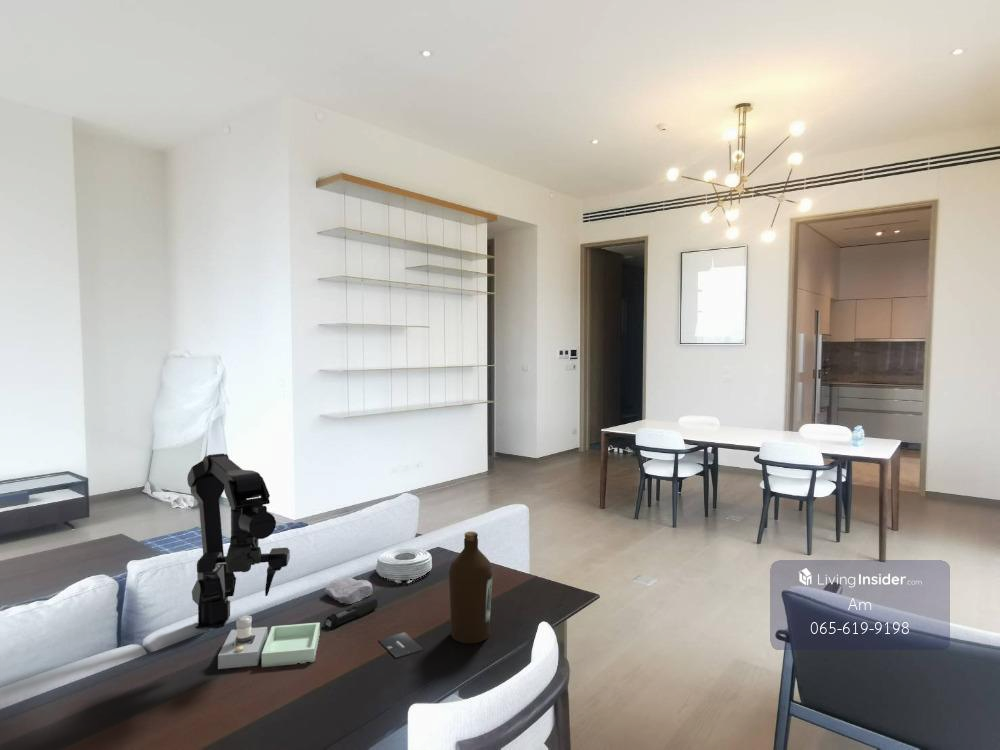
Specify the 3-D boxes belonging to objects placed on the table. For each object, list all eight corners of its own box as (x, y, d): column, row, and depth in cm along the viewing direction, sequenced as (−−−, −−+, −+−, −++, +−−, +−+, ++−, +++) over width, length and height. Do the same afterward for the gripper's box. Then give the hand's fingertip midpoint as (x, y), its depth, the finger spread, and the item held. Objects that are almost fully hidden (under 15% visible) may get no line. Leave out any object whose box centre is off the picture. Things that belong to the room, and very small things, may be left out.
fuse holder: (218, 669, 125) (218, 652, 125) (231, 642, 137) (231, 627, 137) (257, 665, 127) (257, 649, 127) (267, 639, 139) (267, 624, 138)
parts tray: (261, 667, 126) (261, 653, 126) (271, 638, 139) (271, 626, 139) (314, 662, 128) (314, 648, 128) (319, 634, 141) (319, 622, 141)
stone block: (350, 613, 157) (376, 594, 166) (347, 597, 157) (373, 578, 165) (321, 604, 164) (347, 586, 172) (317, 589, 163) (344, 571, 171)
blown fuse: (234, 657, 130) (234, 622, 130) (238, 650, 133) (238, 616, 133) (250, 656, 131) (250, 621, 130) (253, 649, 134) (252, 615, 134)
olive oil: (447, 645, 136) (448, 540, 136) (449, 624, 147) (450, 527, 146) (492, 645, 137) (493, 540, 136) (491, 624, 147) (492, 527, 147)
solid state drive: (395, 660, 130) (395, 657, 130) (378, 642, 138) (378, 639, 138) (423, 652, 134) (423, 649, 134) (404, 634, 142) (404, 632, 142)
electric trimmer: (380, 611, 155) (381, 599, 155) (331, 631, 143) (331, 618, 143) (371, 607, 158) (372, 596, 158) (322, 627, 146) (322, 614, 146)
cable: (405, 588, 171) (405, 568, 170) (363, 575, 180) (363, 556, 180) (442, 570, 185) (443, 551, 185) (402, 559, 195) (402, 541, 195)
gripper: (188, 542, 121) (189, 616, 122) (283, 536, 125) (283, 608, 126) (203, 527, 132) (204, 595, 133) (290, 522, 136) (290, 588, 137)
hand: (245, 597), depth 132 cm, fingers open, 9 cm apart
